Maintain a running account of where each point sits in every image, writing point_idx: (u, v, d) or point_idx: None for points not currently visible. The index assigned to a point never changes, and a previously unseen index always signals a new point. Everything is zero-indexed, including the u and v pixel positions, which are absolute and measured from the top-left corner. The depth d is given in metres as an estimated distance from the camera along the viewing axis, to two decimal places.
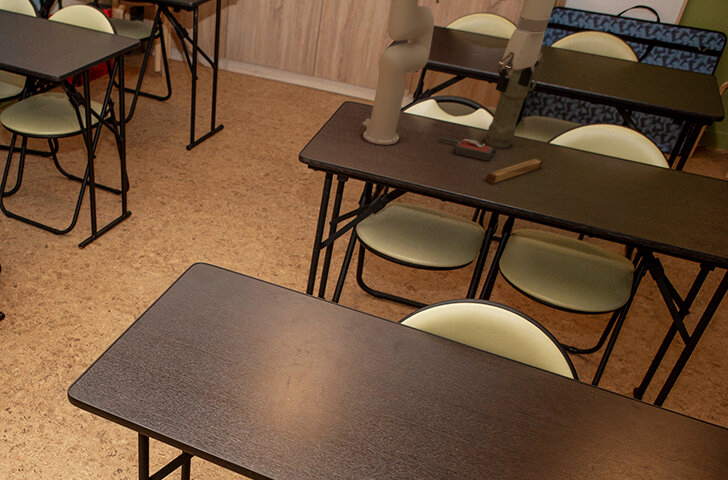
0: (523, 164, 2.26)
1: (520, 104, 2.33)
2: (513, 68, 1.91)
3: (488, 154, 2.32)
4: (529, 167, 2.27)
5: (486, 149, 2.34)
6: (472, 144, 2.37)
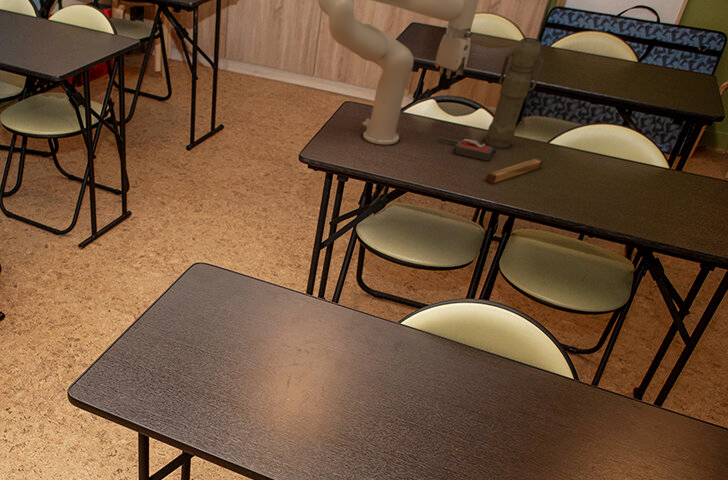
0: (523, 164, 2.26)
1: (520, 104, 2.33)
2: None
3: (488, 154, 2.32)
4: (529, 167, 2.27)
5: (486, 149, 2.34)
6: (472, 144, 2.37)
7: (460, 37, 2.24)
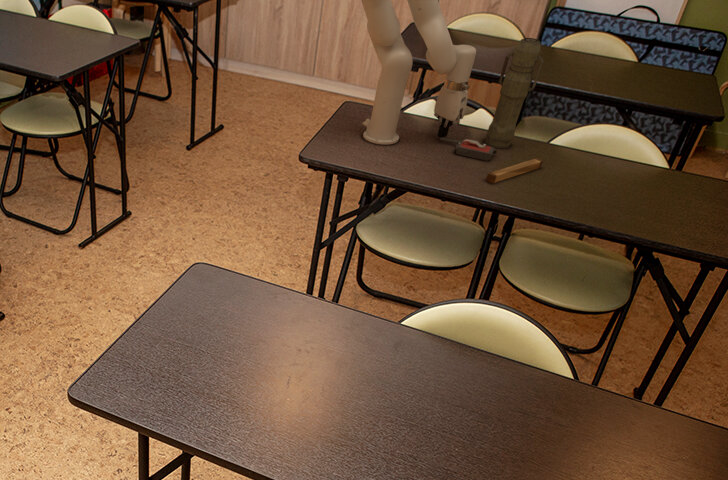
0: (523, 164, 2.26)
1: (520, 104, 2.33)
2: None
3: (489, 154, 2.32)
4: (529, 167, 2.27)
5: (487, 149, 2.34)
6: (473, 144, 2.36)
7: (458, 90, 2.32)
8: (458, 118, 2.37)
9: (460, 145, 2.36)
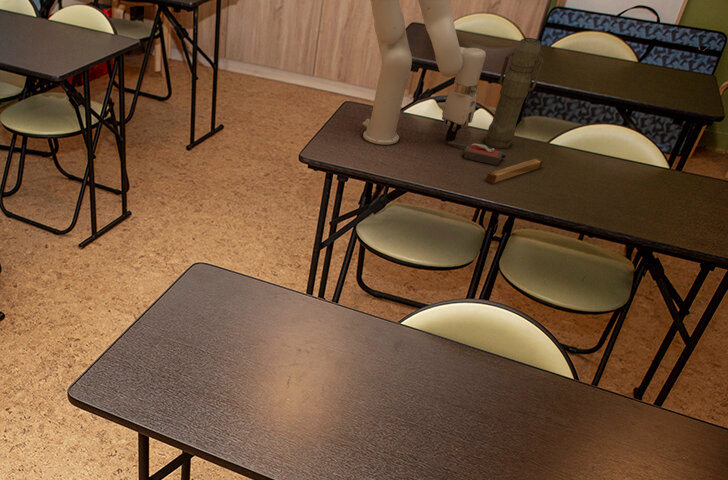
0: (523, 164, 2.26)
1: (520, 104, 2.33)
2: None
3: (498, 159, 2.30)
4: (529, 167, 2.27)
5: (496, 153, 2.31)
6: (481, 148, 2.34)
7: (467, 93, 2.29)
8: (467, 122, 2.35)
9: (468, 149, 2.34)
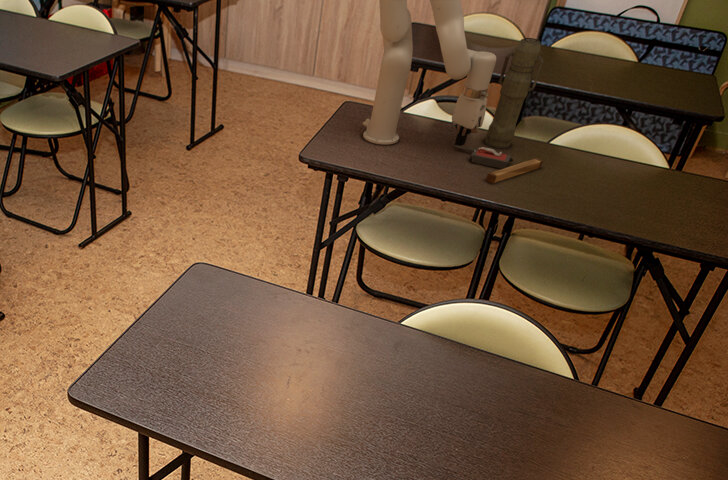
0: (523, 164, 2.26)
1: (520, 104, 2.33)
2: None
3: (506, 162, 2.28)
4: (529, 167, 2.27)
5: (503, 157, 2.29)
6: (489, 152, 2.32)
7: (477, 98, 2.27)
8: (477, 126, 2.32)
9: (476, 153, 2.31)
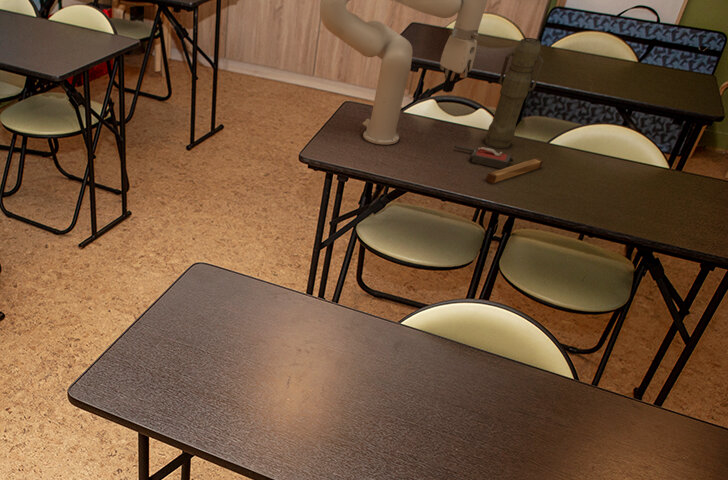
0: (523, 164, 2.26)
1: (520, 104, 2.33)
2: (440, 63, 2.28)
3: (506, 163, 2.28)
4: (529, 167, 2.27)
5: (504, 157, 2.29)
6: (489, 152, 2.32)
7: (467, 39, 2.17)
8: (466, 70, 2.23)
9: (476, 153, 2.31)
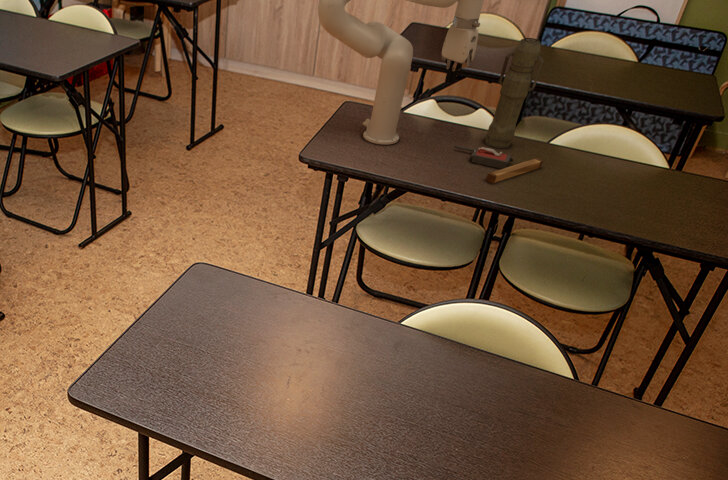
0: (523, 164, 2.26)
1: (520, 104, 2.33)
2: None
3: (506, 163, 2.28)
4: (529, 167, 2.27)
5: (504, 157, 2.29)
6: (489, 152, 2.32)
7: (467, 28, 2.15)
8: (467, 60, 2.20)
9: (476, 153, 2.31)
